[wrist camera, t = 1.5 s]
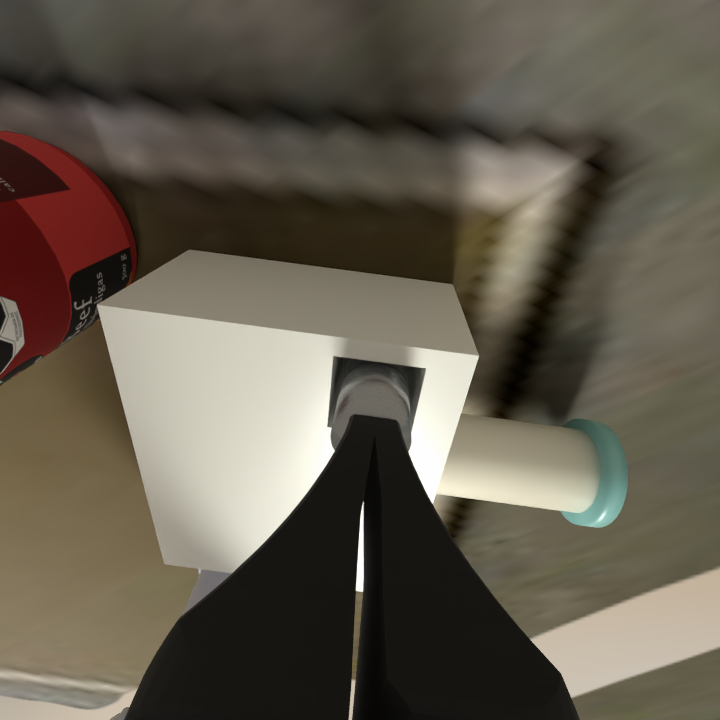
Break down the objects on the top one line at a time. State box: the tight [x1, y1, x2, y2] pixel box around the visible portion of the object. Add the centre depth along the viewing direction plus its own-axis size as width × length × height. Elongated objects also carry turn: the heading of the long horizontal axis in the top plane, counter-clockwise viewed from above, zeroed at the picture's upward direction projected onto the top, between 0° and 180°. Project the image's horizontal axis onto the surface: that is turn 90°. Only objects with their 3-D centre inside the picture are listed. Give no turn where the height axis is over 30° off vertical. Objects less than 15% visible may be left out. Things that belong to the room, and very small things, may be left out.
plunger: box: [330, 358, 412, 452], centre depth 13 cm, size 2×2×4 cm
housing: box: [97, 250, 479, 592], centre depth 18 cm, size 14×12×6 cm
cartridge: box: [436, 414, 628, 528], centre depth 18 cm, size 5×17×5 cm, turn 84°
